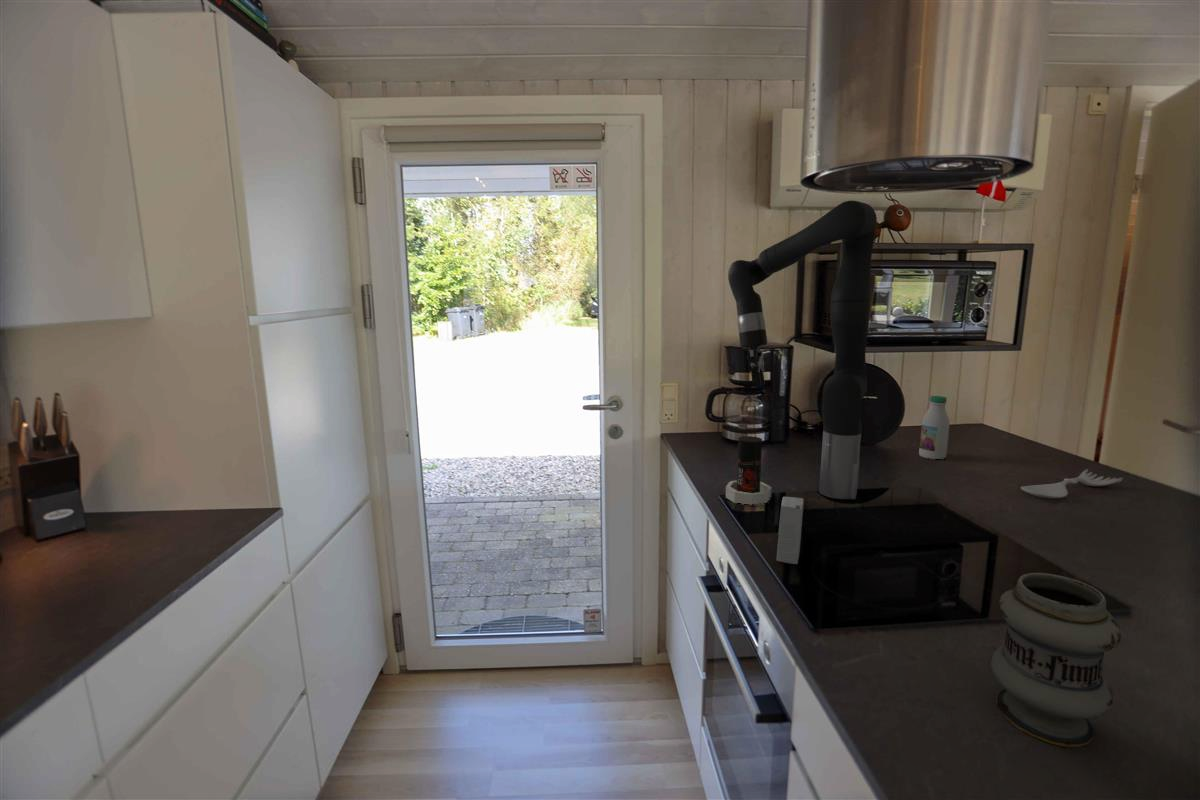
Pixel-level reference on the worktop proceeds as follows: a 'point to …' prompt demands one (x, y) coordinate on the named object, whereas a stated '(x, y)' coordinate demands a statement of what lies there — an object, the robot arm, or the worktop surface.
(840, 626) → the worktop surface
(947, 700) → the worktop surface
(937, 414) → the milk bottle
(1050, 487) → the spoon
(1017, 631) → the apothecary jar
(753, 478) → the deodorant
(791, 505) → the skincare box
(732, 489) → the dish
